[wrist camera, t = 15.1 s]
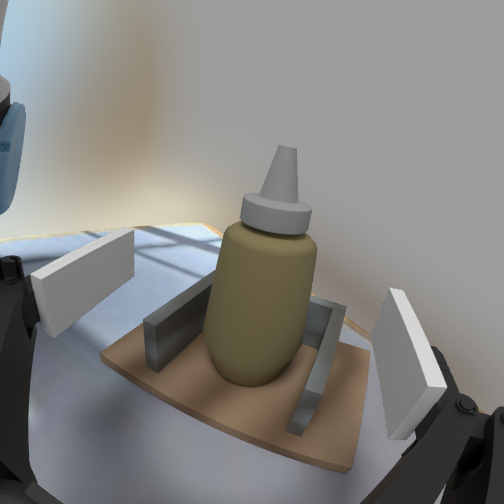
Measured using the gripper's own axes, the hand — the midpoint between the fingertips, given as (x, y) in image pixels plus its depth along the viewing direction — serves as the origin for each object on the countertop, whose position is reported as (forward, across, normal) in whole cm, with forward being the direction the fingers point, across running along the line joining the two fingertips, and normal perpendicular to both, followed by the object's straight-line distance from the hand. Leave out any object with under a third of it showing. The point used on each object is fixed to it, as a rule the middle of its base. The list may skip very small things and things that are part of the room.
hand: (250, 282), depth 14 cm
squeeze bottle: (+7, 0, -12) cm, 14 cm away
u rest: (+7, 0, -13) cm, 15 cm away
